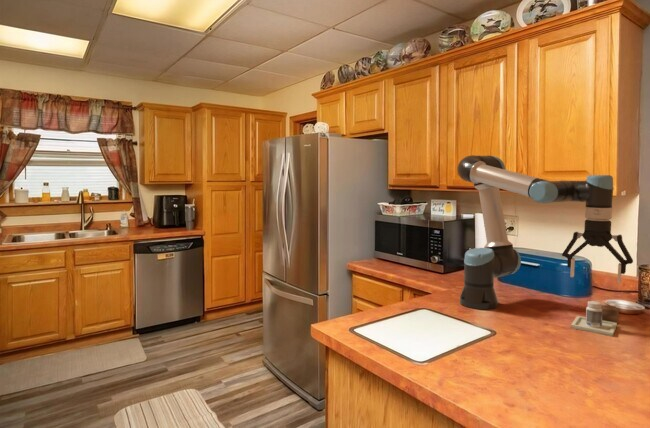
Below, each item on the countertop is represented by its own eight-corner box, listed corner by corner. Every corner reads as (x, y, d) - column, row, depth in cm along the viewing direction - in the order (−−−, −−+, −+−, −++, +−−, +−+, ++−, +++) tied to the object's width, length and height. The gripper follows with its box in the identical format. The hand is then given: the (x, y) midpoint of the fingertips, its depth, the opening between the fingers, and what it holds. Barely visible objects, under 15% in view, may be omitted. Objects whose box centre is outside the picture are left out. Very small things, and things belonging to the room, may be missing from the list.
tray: (570, 328, 136) (570, 324, 136) (577, 318, 145) (577, 315, 145) (612, 336, 128) (613, 333, 128) (616, 326, 137) (617, 322, 137)
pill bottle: (604, 328, 134) (605, 304, 133) (589, 327, 135) (590, 304, 134) (597, 323, 139) (598, 300, 138) (583, 322, 140) (584, 300, 139)
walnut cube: (601, 322, 142) (601, 308, 142) (598, 317, 146) (599, 304, 146) (618, 324, 140) (618, 310, 139) (615, 319, 144) (615, 306, 144)
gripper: (554, 218, 139) (552, 276, 141) (643, 223, 123) (639, 288, 125) (559, 216, 145) (556, 272, 147) (645, 220, 128) (641, 283, 130)
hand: (594, 279), depth 136 cm, fingers open, 13 cm apart
